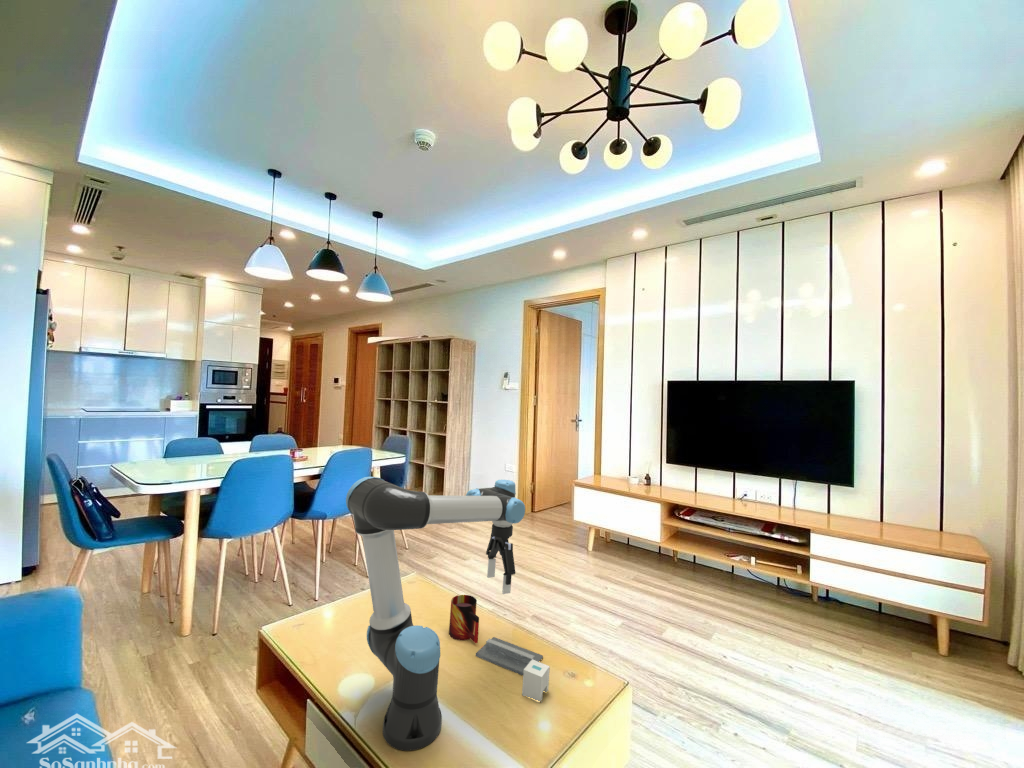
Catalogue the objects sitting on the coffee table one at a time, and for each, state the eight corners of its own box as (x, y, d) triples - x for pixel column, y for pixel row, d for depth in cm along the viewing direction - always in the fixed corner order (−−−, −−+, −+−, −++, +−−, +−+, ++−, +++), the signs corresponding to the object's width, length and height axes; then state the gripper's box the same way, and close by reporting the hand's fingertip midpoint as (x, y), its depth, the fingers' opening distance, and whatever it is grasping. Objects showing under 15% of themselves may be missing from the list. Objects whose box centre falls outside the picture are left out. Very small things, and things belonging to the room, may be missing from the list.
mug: (476, 647, 146) (478, 612, 147) (443, 635, 152) (446, 602, 152) (488, 634, 155) (491, 601, 155) (457, 623, 161) (459, 592, 161)
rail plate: (527, 677, 131) (528, 668, 131) (475, 656, 141) (476, 647, 141) (542, 658, 142) (543, 649, 142) (493, 639, 151) (493, 631, 151)
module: (540, 703, 120) (541, 676, 121) (522, 695, 123) (523, 669, 124) (548, 691, 126) (549, 666, 126) (530, 683, 129) (532, 659, 129)
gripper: (528, 534, 137) (523, 599, 136) (498, 514, 160) (494, 570, 158) (507, 535, 134) (503, 602, 133) (480, 515, 156) (475, 572, 155)
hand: (498, 584), depth 146 cm, fingers open, 13 cm apart
